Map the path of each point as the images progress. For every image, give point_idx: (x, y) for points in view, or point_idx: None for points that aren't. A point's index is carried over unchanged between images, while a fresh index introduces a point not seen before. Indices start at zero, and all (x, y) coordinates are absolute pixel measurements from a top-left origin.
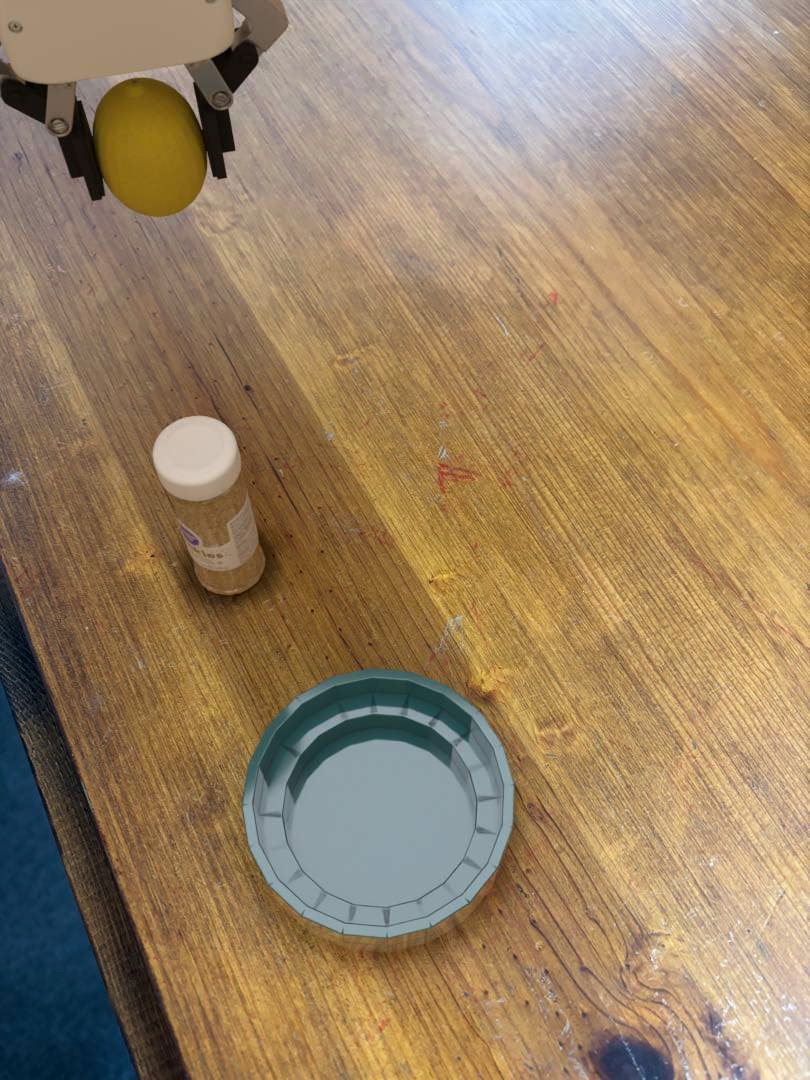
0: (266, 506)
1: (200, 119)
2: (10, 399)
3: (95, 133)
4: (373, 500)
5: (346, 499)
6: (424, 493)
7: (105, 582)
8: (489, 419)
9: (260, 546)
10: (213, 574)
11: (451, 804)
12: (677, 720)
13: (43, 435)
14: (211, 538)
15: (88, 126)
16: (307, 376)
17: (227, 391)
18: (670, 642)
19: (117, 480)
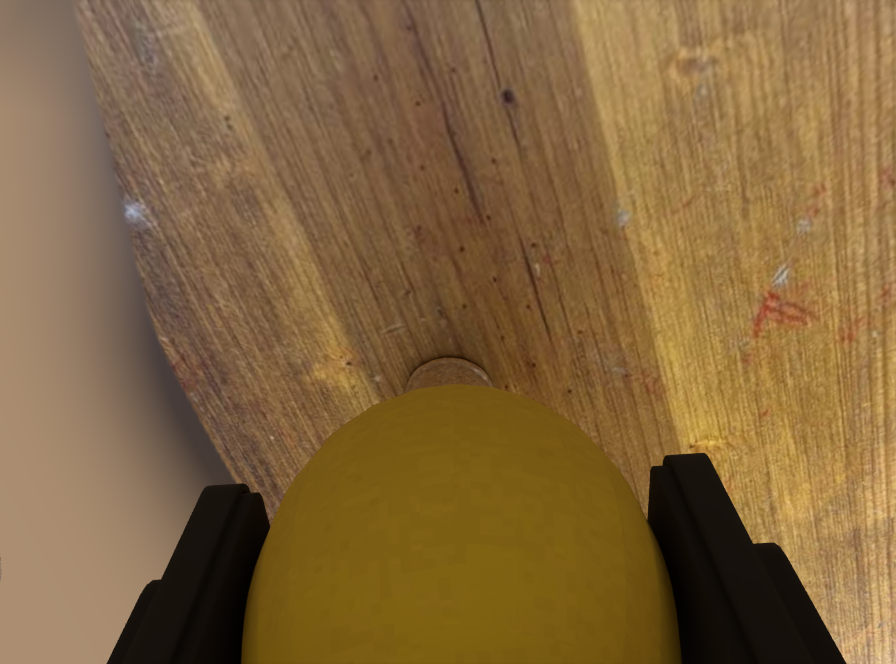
0: (507, 318)
1: (688, 599)
2: (87, 48)
3: None
4: (656, 332)
5: (620, 325)
6: (729, 333)
7: (288, 388)
8: (877, 229)
9: (492, 386)
10: None
11: None
12: (878, 606)
13: (163, 138)
14: None
15: (216, 658)
16: (616, 88)
17: (472, 98)
18: None
19: (292, 242)
